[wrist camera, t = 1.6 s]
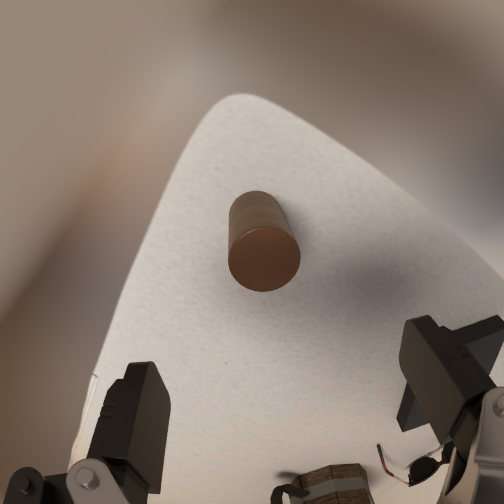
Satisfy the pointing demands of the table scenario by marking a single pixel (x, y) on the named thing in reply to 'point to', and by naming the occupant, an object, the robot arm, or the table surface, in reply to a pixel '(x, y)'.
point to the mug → (327, 487)
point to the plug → (261, 243)
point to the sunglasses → (423, 465)
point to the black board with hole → (481, 347)
